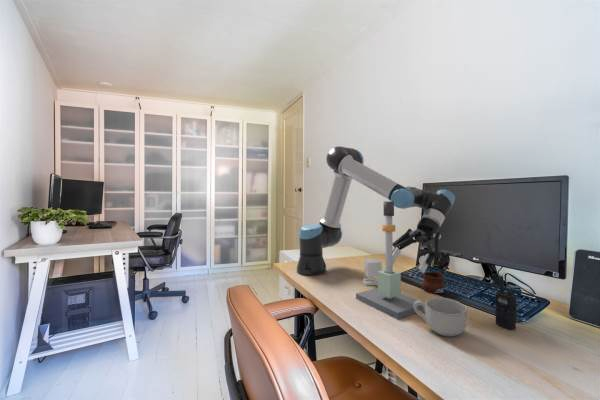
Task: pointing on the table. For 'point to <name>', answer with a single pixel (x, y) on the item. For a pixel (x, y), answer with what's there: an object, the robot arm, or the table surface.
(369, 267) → the security camera
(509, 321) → the two-way radio
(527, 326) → the table surface
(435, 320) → the teacup
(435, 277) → the ceramic pot
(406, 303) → the post
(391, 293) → the sleeve
